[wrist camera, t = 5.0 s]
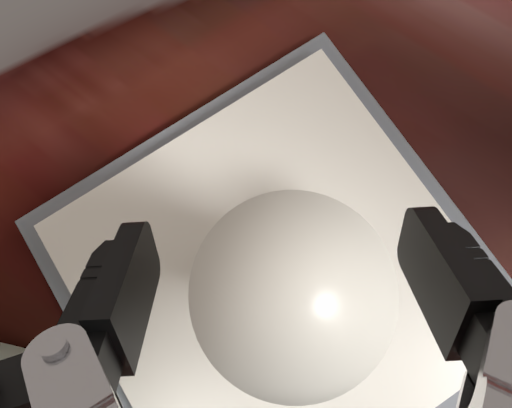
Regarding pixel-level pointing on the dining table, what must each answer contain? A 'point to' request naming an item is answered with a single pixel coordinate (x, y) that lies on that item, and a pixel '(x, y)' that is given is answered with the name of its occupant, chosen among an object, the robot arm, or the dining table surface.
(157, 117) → the dining table surface
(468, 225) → the mat
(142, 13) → the dining table surface
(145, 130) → the dining table surface
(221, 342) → the cover
